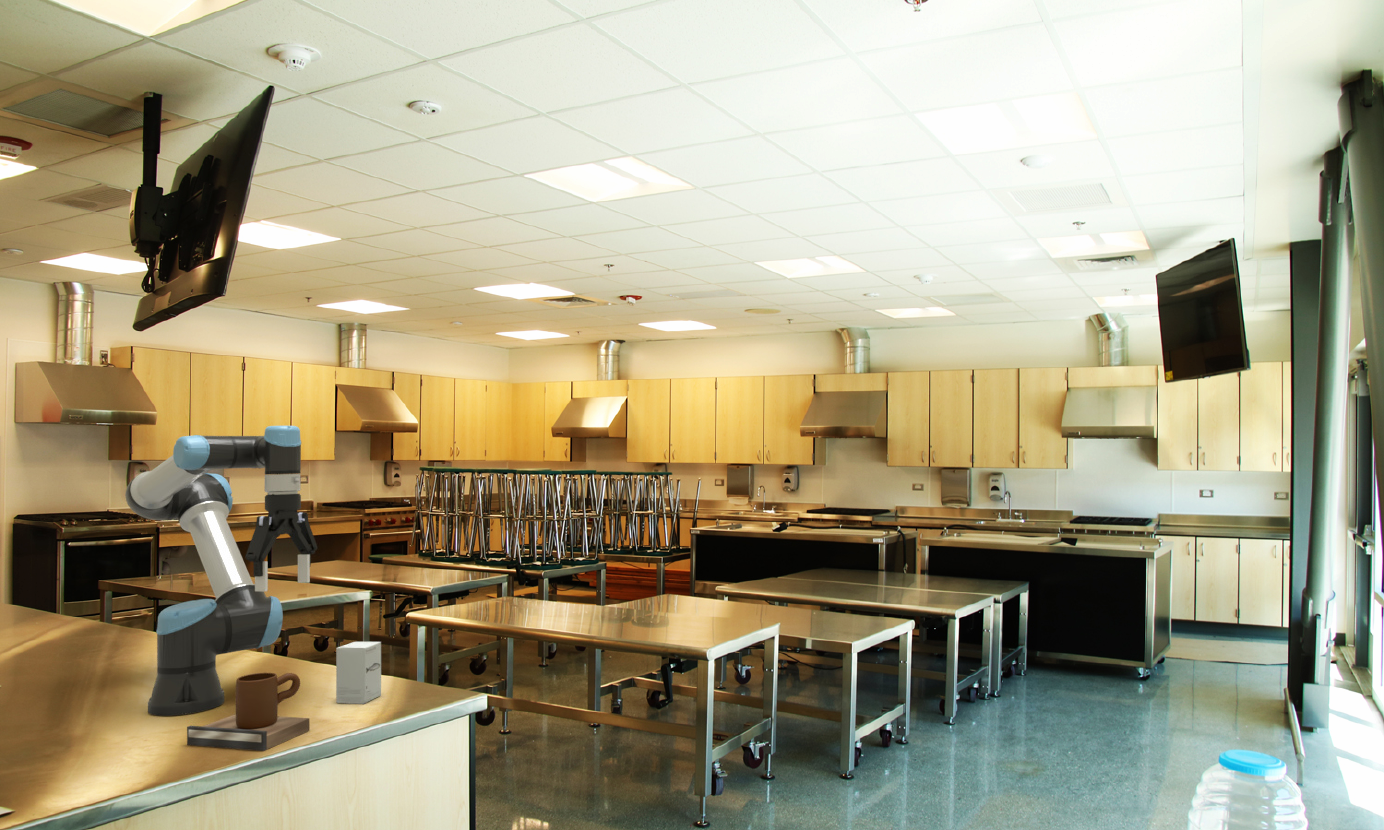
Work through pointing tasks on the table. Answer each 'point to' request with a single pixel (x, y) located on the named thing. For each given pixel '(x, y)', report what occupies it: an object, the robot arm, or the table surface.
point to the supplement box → (358, 672)
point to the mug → (261, 698)
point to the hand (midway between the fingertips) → (283, 586)
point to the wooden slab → (246, 733)
